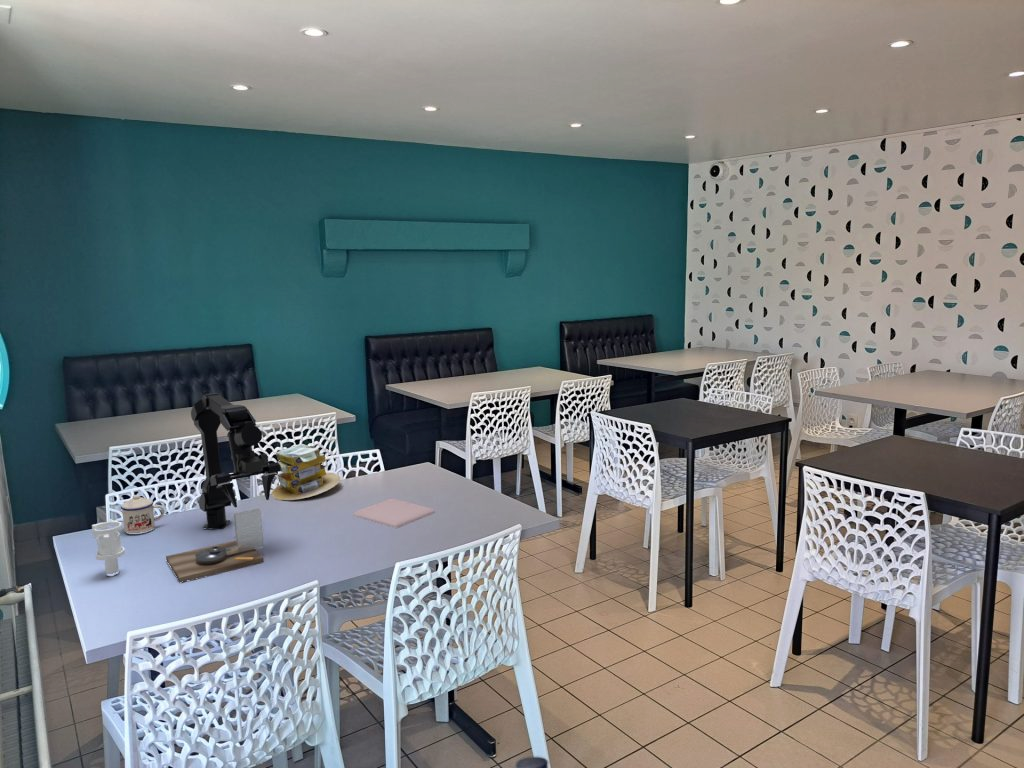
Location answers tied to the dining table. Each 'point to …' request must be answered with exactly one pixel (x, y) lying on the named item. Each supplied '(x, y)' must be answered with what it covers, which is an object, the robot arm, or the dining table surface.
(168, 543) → the dining table surface
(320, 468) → the stacked boxes on plate
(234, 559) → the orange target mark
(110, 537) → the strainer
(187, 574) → the walnut stand plate
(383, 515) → the panel
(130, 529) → the teacup with lid
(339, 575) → the dining table surface
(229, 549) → the lever
